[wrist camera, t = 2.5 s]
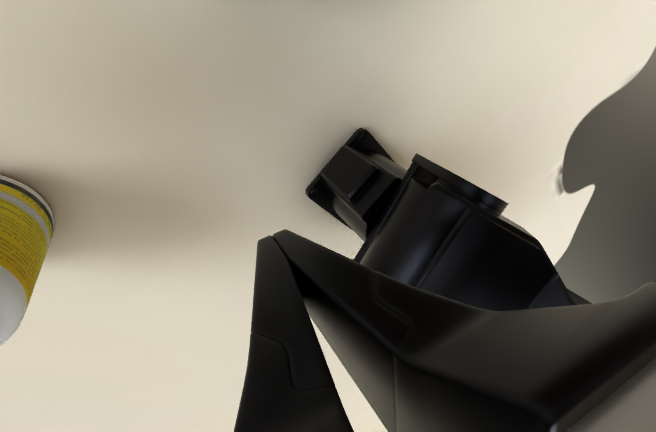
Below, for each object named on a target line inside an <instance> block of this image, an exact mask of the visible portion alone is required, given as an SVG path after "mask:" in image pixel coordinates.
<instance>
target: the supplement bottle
mask: <svg viewBox="0 0 656 432" xmlns="http://www.w3.org/2000/svg"><path fill="white" fill-rule="evenodd" d="M53 230H54V218H53V214H52V211H51V209H50V207H49V206H48V204H47V203H46V201H45V200H44V199H43V198H42V197H41V196H40V195H39V194H38V193H37V192H35V191H34V190H33V189H31V188H30V187H28V186H26V185H24V184H22V183H20V182H18V181H16V180H14V179H11V178H8V177H5V176H1V175H0V346H1V345H2V344H4V343H5V342H6V341H7V340H8V339H9V338H10V337H11V336H12V335H13V333H14V332H15V331H16V329H17V328H18V326H19V325H20V323H21V321H22V319H23V317H24V314H25V312H26V309H27V306H28V304H29V301H30V298H31V295H32V292H33V289H34V286H35V283H36V280H37V278H38V275H39V272H40V270H41V267H42V264H43V261H44V258H45V255H46V253H47V250H48V247H49V244H50V241H51V238H52V234H53Z"/></svg>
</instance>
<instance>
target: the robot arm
mask: <svg viewBox="0 0 656 432" xmlns="http://www.w3.org/2000/svg"><path fill="white" fill-rule="evenodd" d="M362 133H364V134H363V137H361V138H360V136H361V134H362ZM412 161H413V162H412V164H411V166H410V167H409V169H408V171H407V170H405V169H404V168H402V167H400V166H399V165H397V164H396V163H395V162H394V161H393V160H392V158H391V157H390V156H389V155H388V154H387V153H386V151H385V150H384V149H383V148H382V147H381V146H380V144H379V143H378V142H377V141H376V140H375V139H374V137H373V136H372V135H371V134H370V133H369V132H368V131H367V130H366V129H364V128H360V129H358V130H357V131H356V132H355V133H354V134H353V135H352V137H351V138H350V139H349V140H348V141H347V142H346V144H345V145H344V146H342V147H341V149H340V150H339V151H338V152H337V153H336V154H335V156H334V157H333V158H332V159H331V160H330V161H329V163H328V164H327V165H326V166H325V167H324V168H323V169H322V171H321V173H320V174H319V175H318V176H317V177H316V178H315V180H314V181H313V182H312V183H311V184H310V185H309V186H308V188H307V189H306V195H307V196H308V197H309V198H310V199H311V200H313V201H314V202H315V203H317V204H318V205H319V206H321V207H322V208H323V209H325V210H326V211H327V212H329V213H330V214H331V215H333V216H334V217H335V218H337V219H338V220H339V221H341V222H342V223H343V224H345V225H346V226H347V227H349V228H350V229H352V230H353V231H354V232H355V233H356V234H357V235H358V236H359V237H360V238H361V239H362V240H363V241H364V244H363V245H362V247H361V249H360V250H359V252H358V254H357V255H356V257H355V259H349V258H347V257H345V256H343V255H341V254H339V253H336V252H334V251H332V250H330V249H328V248H325V247H323V246H321V245H319V244H317V243H315V242H312V241H310V240H308V239H306V238H304V237H302V236H299V235H297V234H295V233H293V232H291V231H288V230H282V231H279V232H277V233H275V234H273V237H272V236H267V237H265V238H263V239H260V240H259V241H258V245H257V258H256V271H255V284H254V297H253V310H252V324H251V335H250V347H249V356H248V365H247V371H246V376H245V382H244V387H243V392H242V396H241V401H240V406H239V410H238V415H237V419H236V424H235V428H234V432H354V431H353V429H352V426H351V424H350V422H349V420H348V417H347V415H346V413H345V410H344V408H343V405H342V403H341V400H340V397H339V395H338V392H337V389H336V388H335V384H334V381H333V379H332V376H331V373H330V371H329V368H328V365H327V363H326V360H325V357H324V355H323V352H322V349H321V346H320V344H319V341H318V338H317V336H316V333H315V330H314V328H313V325H312V322H311V320H310V317H311V318H312V320H313V321H314V323H315V324H316V326H317V327H318V329H319V330H320V332H321V333H322V335H323V336H324V338H325V339H326V340H327V342H328V343H329V345H330V346H331V348H332V349H333V351H334V352H335V354H336V355H337V357H338V358H339V360H340V361H341V363H342V364H343V366H344V367H345V369H346V370H347V371H348V373H349V374H350V376H351V377H352V379H353V380H354V382H355V383H356V385H357V386H358V388H359V389H360V391H361V392H362V394H363V395H364V397H365V398H366V400H367V401H368V403H369V404H370V405H371V407H372V408H373V410H374V411H375V413H376V414H377V416H378V417H379V419H380V420H381V422H382V423H383V425H384V426H385V428H386V429H387V431H388V432H656V281H653V282H649V283H646V284H645V285H643V286H642V287H640V288H639V289H637V290H636V291H634V292H633V293H631V294H629V295H627V296H625V297H623V298H620V299H617V300H613V301H608V302H603V303H595V304H592V303H590V302H589V301H587V300H585V299H584V298H582V297H581V296H579V295H577V294H575V293H574V292H572V291H570V290H569V289H567V288H566V287H565V285H564V283H563V281H562V280H561V278H560V276H559V275H558V273H557V271H556V269H555V268H554V266H553V264H552V262H551V261H550V259H549V257H548V255H547V254H546V252H545V250H544V248H543V247H542V245H541V244H540V242H539V241H538V240H537V239H536V238H534V237H533V236H532V235H531V234H530V233H529V232H527V231H526V230H525V229H524V228H522V227H521V226H519V225H518V224H516V223H514V222H512V221H511V220H509V219H507V218H505V217H504V216H502V215H501V213H502V212H503V211H504V209H505V208H506V206H507V205H508V203H506V202H505V201H503V200H501V199H499V198H497V197H496V196H494V195H492V194H490V193H488V192H487V191H485V190H483V189H481V188H479V187H477V186H476V185H474V184H472V183H470V182H468V181H467V180H465V179H463V178H461V177H459V176H457V175H456V174H454V173H452V172H450V171H448V170H446V169H444V168H443V167H441V166H439V165H437V164H435V163H433V162H432V161H430V160H428V159H426V158H424V157H422V156H420V155H419V154H417V153H416V154H415V156H414V158H413V159H412ZM313 190H315V192H314V193H313V194H311V192H312V191H313ZM309 315H310V317H309Z"/></svg>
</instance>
